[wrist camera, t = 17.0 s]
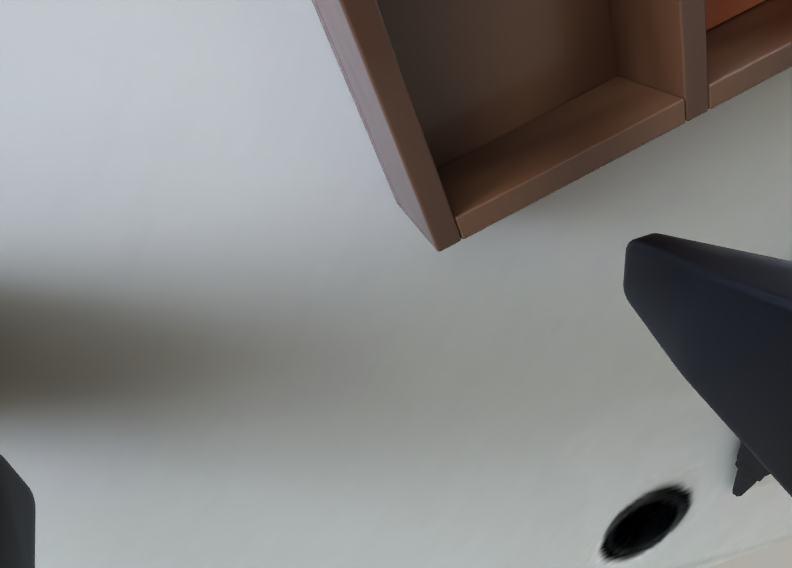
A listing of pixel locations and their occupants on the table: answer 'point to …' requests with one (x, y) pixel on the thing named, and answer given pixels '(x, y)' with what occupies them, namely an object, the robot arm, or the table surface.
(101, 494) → the table surface
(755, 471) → the microphone
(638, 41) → the divided wooden tray
